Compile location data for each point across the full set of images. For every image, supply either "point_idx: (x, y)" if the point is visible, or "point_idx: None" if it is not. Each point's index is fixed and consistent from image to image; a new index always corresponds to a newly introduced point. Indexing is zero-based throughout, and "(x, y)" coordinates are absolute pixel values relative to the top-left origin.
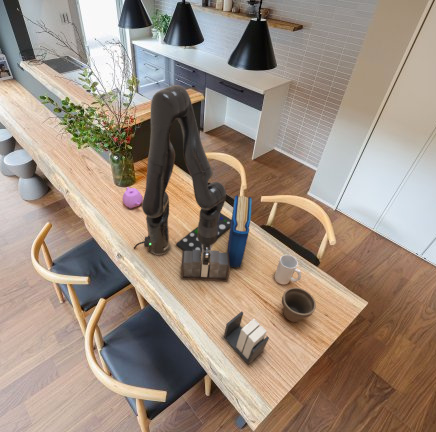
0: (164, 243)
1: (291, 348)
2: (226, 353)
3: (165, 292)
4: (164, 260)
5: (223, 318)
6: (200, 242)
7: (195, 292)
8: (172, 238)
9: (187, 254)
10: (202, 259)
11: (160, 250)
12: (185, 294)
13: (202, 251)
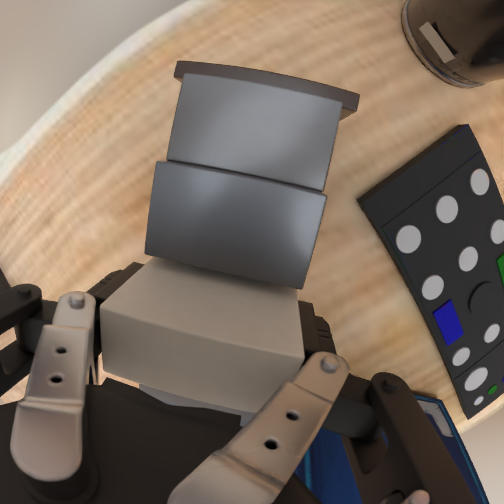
0: (455, 17)
1: (12, 392)
2: None
3: (153, 22)
4: (365, 32)
5: (31, 267)
6: (446, 266)
7: (127, 168)
8: (496, 121)
9: (284, 124)
10: (126, 281)
11: (418, 10)
12: (123, 116)
13: (36, 357)
